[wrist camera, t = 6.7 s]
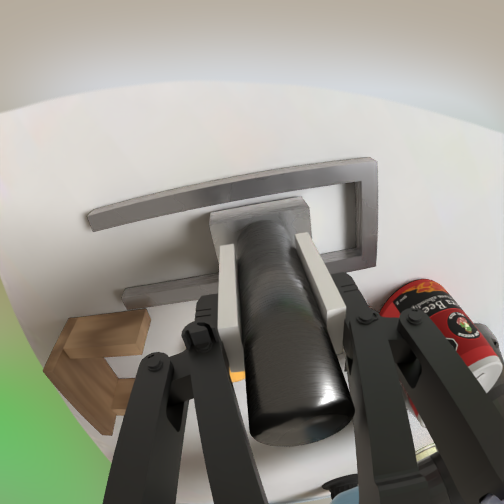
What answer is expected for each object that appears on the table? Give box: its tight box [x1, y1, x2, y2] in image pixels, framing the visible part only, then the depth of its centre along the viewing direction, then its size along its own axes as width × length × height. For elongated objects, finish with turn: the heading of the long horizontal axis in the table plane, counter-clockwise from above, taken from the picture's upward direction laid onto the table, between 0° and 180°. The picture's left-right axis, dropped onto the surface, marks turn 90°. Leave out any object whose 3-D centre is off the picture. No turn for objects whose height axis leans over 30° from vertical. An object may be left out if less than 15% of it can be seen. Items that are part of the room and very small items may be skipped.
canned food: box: [379, 279, 503, 428], centre depth 21 cm, size 8×8×11 cm
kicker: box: [209, 197, 355, 446], centre depth 17 cm, size 6×14×14 cm, turn 9°
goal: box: [43, 309, 151, 436], centre depth 23 cm, size 8×10×6 cm
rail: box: [87, 157, 378, 310], centre depth 20 cm, size 19×8×1 cm, turn 99°
